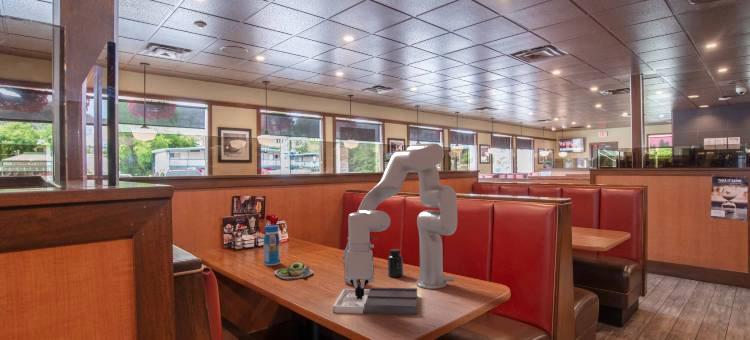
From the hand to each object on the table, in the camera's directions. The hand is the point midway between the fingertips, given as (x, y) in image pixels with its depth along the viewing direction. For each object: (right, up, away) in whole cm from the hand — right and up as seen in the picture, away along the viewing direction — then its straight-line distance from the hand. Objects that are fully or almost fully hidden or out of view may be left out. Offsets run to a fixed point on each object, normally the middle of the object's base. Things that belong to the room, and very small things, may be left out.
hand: (359, 298), depth 140 cm
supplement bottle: (+15, -3, +40) cm, 42 cm away
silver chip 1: (-2, 0, +9) cm, 9 cm away
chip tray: (-3, -4, +5) cm, 7 cm away
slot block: (+12, -3, +3) cm, 13 cm away
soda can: (-4, -3, +30) cm, 30 cm away
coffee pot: (-2, -3, +65) cm, 65 cm away
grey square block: (-3, 0, 0) cm, 3 cm away
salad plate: (-33, -4, +45) cm, 56 cm away
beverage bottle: (-49, -4, +65) cm, 81 cm away
